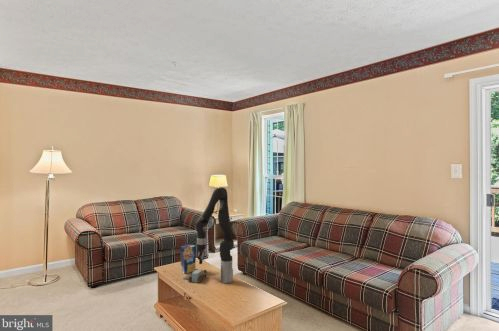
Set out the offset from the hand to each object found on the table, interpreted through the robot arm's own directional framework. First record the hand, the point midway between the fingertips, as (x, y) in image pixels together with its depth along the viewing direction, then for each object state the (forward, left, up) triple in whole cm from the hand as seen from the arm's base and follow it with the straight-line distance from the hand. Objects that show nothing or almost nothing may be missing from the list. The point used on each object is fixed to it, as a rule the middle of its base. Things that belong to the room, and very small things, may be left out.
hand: (200, 263), depth 254 cm
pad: (+7, +5, -11) cm, 13 cm away
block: (0, +9, -11) cm, 14 cm away
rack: (0, +7, -11) cm, 13 cm away
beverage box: (+16, -9, -11) cm, 21 cm away
